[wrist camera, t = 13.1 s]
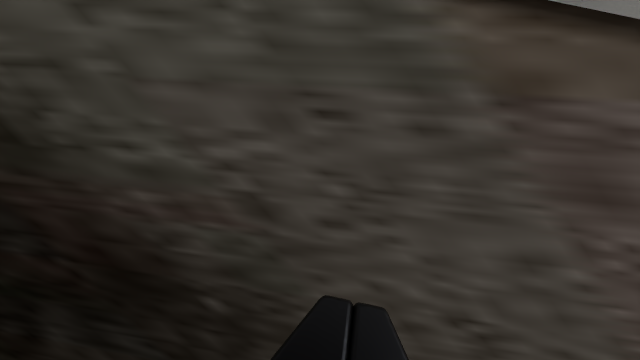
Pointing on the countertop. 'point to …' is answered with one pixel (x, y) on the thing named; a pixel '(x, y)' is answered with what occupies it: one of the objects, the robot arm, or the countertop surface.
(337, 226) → the countertop surface
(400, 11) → the countertop surface
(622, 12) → the label panel
